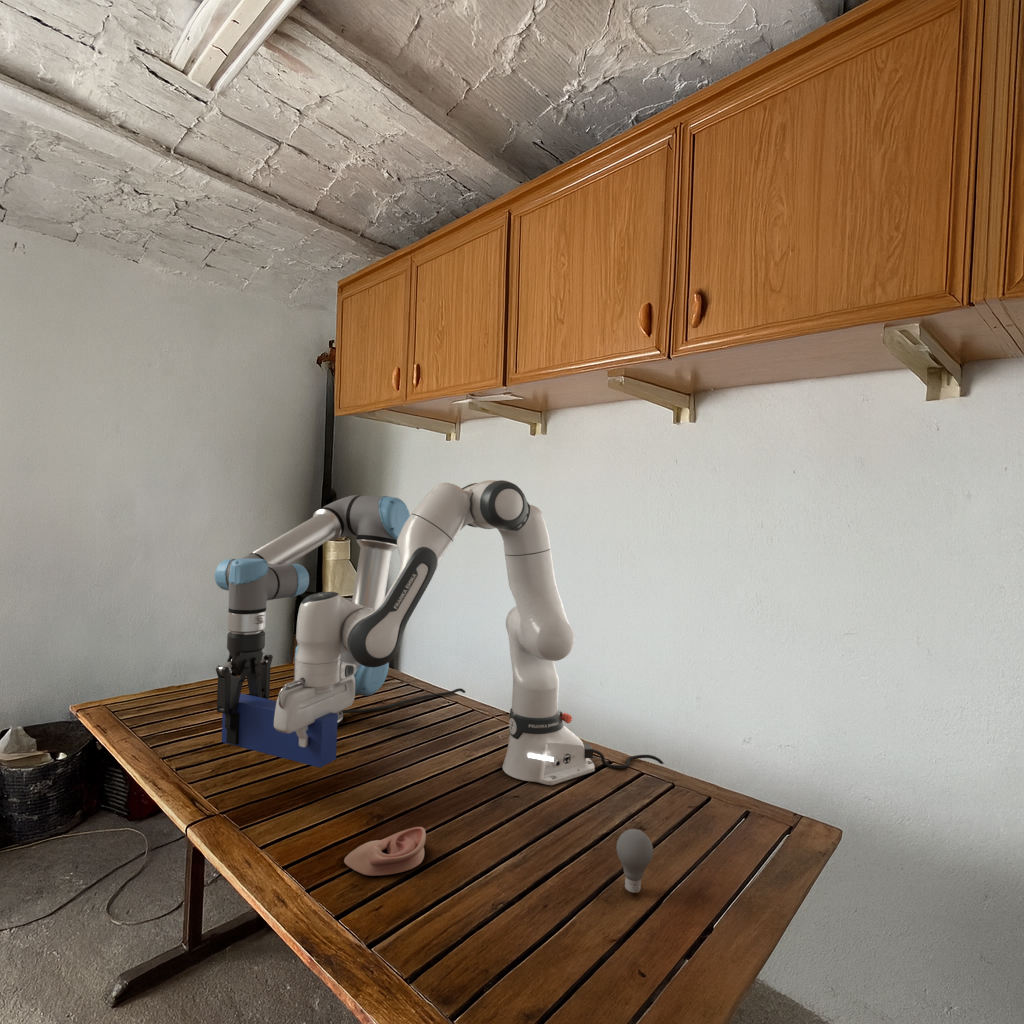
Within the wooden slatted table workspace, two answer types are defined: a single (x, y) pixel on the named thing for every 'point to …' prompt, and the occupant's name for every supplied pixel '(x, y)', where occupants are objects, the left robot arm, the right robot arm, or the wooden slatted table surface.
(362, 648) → the right robot arm
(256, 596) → the left robot arm
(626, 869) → the light bulb
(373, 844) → the anatomical model
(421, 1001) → the wooden slatted table surface
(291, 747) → the bar
